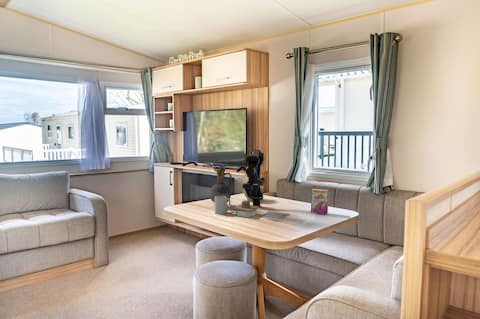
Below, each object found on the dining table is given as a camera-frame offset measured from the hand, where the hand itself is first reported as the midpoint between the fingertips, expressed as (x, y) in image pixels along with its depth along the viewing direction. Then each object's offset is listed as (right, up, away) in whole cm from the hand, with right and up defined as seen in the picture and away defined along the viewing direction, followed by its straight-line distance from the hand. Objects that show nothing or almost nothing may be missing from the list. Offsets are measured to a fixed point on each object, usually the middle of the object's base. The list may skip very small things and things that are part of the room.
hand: (252, 196), depth 234 cm
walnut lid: (-4, -8, -5) cm, 10 cm away
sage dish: (-4, -12, -4) cm, 14 cm away
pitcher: (-22, -10, +23) cm, 33 cm away
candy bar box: (+46, -12, +3) cm, 48 cm away
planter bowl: (+2, -8, +44) cm, 45 cm away
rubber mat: (+15, -12, -5) cm, 20 cm away
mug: (-20, -11, +2) cm, 23 cm away
